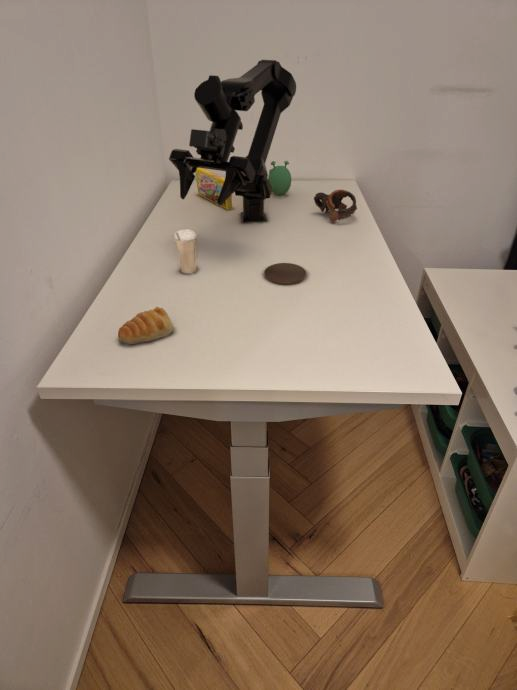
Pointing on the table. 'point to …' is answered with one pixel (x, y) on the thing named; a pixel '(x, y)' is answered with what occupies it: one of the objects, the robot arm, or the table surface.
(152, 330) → the pastry
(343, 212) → the brown coiled strap
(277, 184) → the alien toy
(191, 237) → the milkshake
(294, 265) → the coaster
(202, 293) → the table surface
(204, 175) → the candy box
